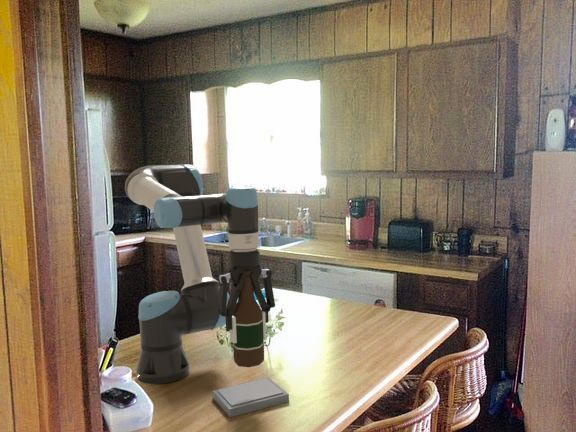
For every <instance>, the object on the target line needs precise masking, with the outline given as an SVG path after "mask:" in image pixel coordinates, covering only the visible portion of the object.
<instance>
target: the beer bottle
mask: <svg viewBox="0 0 576 432" xmlns="http://www.w3.org/2000/svg"><path fill="white" fill-rule="evenodd" d="M242 273H243V274H245V275H246V279H245V281H244V284H243V287H242V290H241V291H240V293H239V297H238V300H237V303H236V306H235V309H234V313H233V316H234V317H236V336H237V343H233V342H232V350H233V362H234V363H235V365H237V366H238V367H242V368H253V367H258V366H260V365H261V364H262V363H263V362H265V342H264V341H265V340H264V339H265V337H264V334H263V316H262V311H261V310H262V309H261V307H260V305H259V302H258V301H256V296H255V293H254V290H253V286H252V279H251V277H250V275H251V273H252V271H251V270H244V271H243V272H242Z"/></svg>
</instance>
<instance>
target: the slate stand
mask: <svg viewBox="0 0 576 432" xmlns="http://www.w3.org/2000/svg"><path fill="white" fill-rule="evenodd" d="M289 396H290V394H289V393H288V392H287V391H286V390H284V389H283V388H282V387H281V386H279V384H277V383H276V382H275V381H274V380H272V379H271V378H270V377H265V378H260V379H256V380H252V381H248V382H244V383H241V384H235V385H232V386H227V387H223V388H218V389H215V390H212V399H213V400H214V401H215V402H216V403H217V405H218V406H220V408H221V409H222V410H223V411H224V413H225V414H226V415H227V416H228V417H229V418H232V417H236V416H240V415H243V414H248V413H250V412H251V413H253V412H254V411H256V412H257V411H258V410H263V409H266V408H270V407H273V406H278V405H281V404H284V403H285V404H286V403H289V402H290V397H289Z"/></svg>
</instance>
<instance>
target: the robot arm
mask: <svg viewBox="0 0 576 432" xmlns="http://www.w3.org/2000/svg"><path fill="white" fill-rule="evenodd" d="M124 191H125V194H126V196H127V197H128V198H129V200H131V202H133V203H135V204H137V205H140V206H145V207H146V208H148V209H149V210H150V211H152V212H153V217H154V221H155V222H156V225H157V226H158V228H161V229H165V228H167V229H168V228H169V229H172V230H173V235H174V239H175V244H176V249H177V253H178V258H179V263H180V270H181V273H182V278H183V283H184V284H183V286H182V288H181V290H180V293H181V294H180V293H179V291H177V290H168V291H167V290H162V291H159V292H155V293H152V294H149V295H146V296H145V297H144V298H143V299H141V300H140V302H139V304H138V322H139V333H140V334H139V336H140V337H139V338H140V353H139V357H138V361H137V365H136V369H135V372H136V374H139V375H140V376H139V377H138V378H137V377H136V379H137V380H138V381H140V382H141V383H143V384H151V385H159V384H161V385H162V384H168V383H173V382H177V381H179V380H181V379H183V378H185V377H186V376H188V375H189V374H190V371H191V368H190V361H189V358H188V357H187V354H186V351H185V349H184V345H183V336H186V335H190V334H195V333H199V332H205V331H209V330H210V331H212V330H215V329H218V328H222V327H224V326H225V328H226V330H228V331H229V341H230V342H231V343H232V344H233V343H237V336H236V317H234V316H233V313H234V309H235V306H236V303H237V302H238V297H239V293H240V291H241V290H242V287H243V284H244V281H245V279H246V275H245V274H243V273H242V272H243V271H244V270H251V271H252V273H251V275H250V277H251V279H252V286H253V290H254V297H255V299H256V300H257V303H258V305H259V306H260V308H261V311H262V316H263V334H264V338H267V326H266V324H269V321H270V319H269V312H270V311H271V309H274V308H275V307H276V301H275V296H274V289H273V284H272V274H273V271H272V270H271V269H268V268H264V269H263V268H262V267H261V266H260V264H261V254H260V249H258V248H259V247H260V232H259V230H260V229H259V200H258V192H257V191H258V190H257V189H256V187H254V186H234V187H229V188H227V190H226V192H221V193H220V192H219V193H218V192H217V193H214V194H204V182H203V178H202V175H201V173H200V171H199V170H198V169H197V167H196V166H194V165H193V164H183V163H179V164H162V165H144V166H142V167H138V168H137V169H135V170H133V171H132V172H131V173H130V174H129V175H128V176H127V178H126V180H125V183H124ZM222 223H223V224H224V223H226V224H227V226H228V227H227V228H228V230H227V232H228V248H229V249H230V250H229V253H228V254H229V256H228V257H229V271H228V273H226V274H219V275H218V276H217V279H218V280H217V279H216V278H214V277H213V274H212V271H211V266H210V261H209V256H208V251H207V247H206V244H205V239H204V235H203V229H202V225H214V224H222ZM260 276H261V277H262V283H263V288H264V289H263V290H264V294H263V292H262V289H261V285H260V283H259V280H258V279H259V278H260ZM230 280H232V281H233V282H232V285H231V290H230V294H229V291H228V290H229V282H230ZM264 295H265V296H264ZM136 374H135V375H136Z"/></svg>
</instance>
